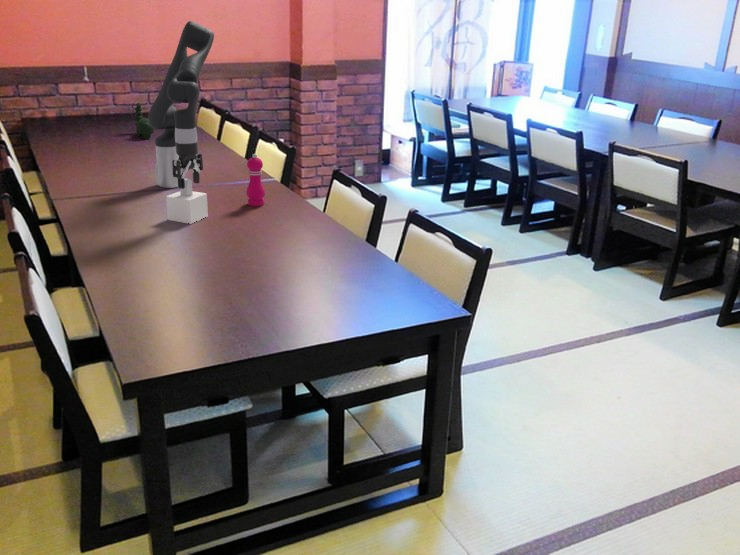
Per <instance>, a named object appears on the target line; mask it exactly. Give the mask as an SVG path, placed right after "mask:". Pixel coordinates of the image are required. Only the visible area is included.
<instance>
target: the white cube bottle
mask: <svg viewBox="0 0 740 555" xmlns="http://www.w3.org/2000/svg"><path fill="white" fill-rule="evenodd" d="M184 181H185V188H184V189H180V188H179V191H176V192H175V193H174V192H173V193H170V194H168V195H166V196H165V198H166V199H165V201H166V213H167V220H168V221H173V222H178V223H184V224H188V223H189V224H190V225H192V223H193V224H194V222H195V223H197V222H199V221H201V219H202V220H204V219H206V218H208V217H209V211H208V210H209V209H208V194H207V193H205V192H199V191H193V178H192V179H191V178H185V177H184ZM205 217H206V218H205ZM203 218H204V219H203ZM196 221H197V222H196Z"/></svg>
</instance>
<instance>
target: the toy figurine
mask: <svg viewBox="0 0 740 555" xmlns="http://www.w3.org/2000/svg"><path fill="white" fill-rule="evenodd" d="M134 111H135V112H134V115H135V117H134V120H135V121H136V122H135V128H136V129H135V132H136V136H138V137H142V139H144V140H149V139H151V137H152V134H153V133H154V130H155V129H154V128H152V127H151V126H150V124H149V118H147V117H146V118H145V117H144V116H143V111H142V103H140V102H137V103H136V106H135V107H134Z"/></svg>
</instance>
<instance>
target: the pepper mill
mask: <svg viewBox="0 0 740 555" xmlns="http://www.w3.org/2000/svg"><path fill="white" fill-rule="evenodd" d="M263 165H264V162H263V161H262V159H261V158H258V155H257V153H252V157H251V158H249V159H248V160H247V163H246V167H247V169H248V174H249V183H248V186H247V188H246V196H247V198H248V199H247V204H248V206H250V205H251V206H252V207H260V206H263V205H265V199H264V198H265V195H266V191H265V187H264V185H263V182H262V178H261V175H262V174H263V173H262V168H263Z"/></svg>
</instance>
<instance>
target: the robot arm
mask: <svg viewBox="0 0 740 555" xmlns="http://www.w3.org/2000/svg"><path fill="white" fill-rule="evenodd" d="M180 35H181V36H180V37H179V41H178V45H177V48H176V51H175V53H174V56H173V58H172V61H171V63H170V65H169V67H168V68H167V72H166V73H165V74H166V75H165V76H164V77H165V78H164V80H163V82H162V86H161V88H160V89H159V92H158V94H157V95H156V98H155V100H154V102H153V103H152V105H151V107H150V109H149V112H148V119H149V124H150V126H151V127H152V128H154V130H164V131H163V132H162V133H161V134H160V135H158V136H157V137H155V139H154V144H155V155H156V162H155V163H154V168H155V178H156V179H155V180H156V186H158V187H160V188H164V189H165V188H167V189H168V188H169V189H171V188H179V190H180V189H184V188H185V181H184V178H185V176H186V174H187V173H188V171H190V170H191V171H192V183H194V184H200V179H201V177H200V173H201V171H203V170H204V163H203V154H202V153H199V146H198V145H199V143H198V132H197V131H198V130H197V123H196V122H197V121H196V120H197V119H196V113H197V105H198V102H199V99H200V98H199V97H200V93H201V92H200V87H199V86H198V84H197V83H198V81H199V77H200V75H201V71H202V68H203V65H204V63H205V62H206V61H207V60H206V59H207V58H208V55H209V53H210V51H211V48H212V45H213V43H214V40H215V34H214V31H213V30H211V29H210V28H207V27H205V26H203V25H202V24H199V23H197V22H195V21H192V20H189V21H187V23H185V25H184V27H183V29H182V32H181V34H180ZM188 49H191V50H193V51H195V53H193V54H191V55H188ZM174 103H181V104H182V103H183V104H185V103H186V104H188V106H187V107H186V108H183V109H182V108H180V109H177V108H176V107H175V106H174V105H173V104H174Z"/></svg>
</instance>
